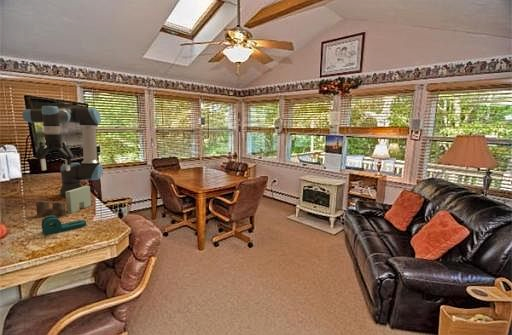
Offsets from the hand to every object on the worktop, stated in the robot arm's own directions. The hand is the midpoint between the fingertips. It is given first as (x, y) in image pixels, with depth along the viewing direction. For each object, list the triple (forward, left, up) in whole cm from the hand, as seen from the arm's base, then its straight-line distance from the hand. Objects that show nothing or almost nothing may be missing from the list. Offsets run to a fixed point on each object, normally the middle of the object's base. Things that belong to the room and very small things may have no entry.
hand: (56, 170), depth 153 cm
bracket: (+26, +16, -26) cm, 40 cm away
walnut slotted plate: (+4, -3, -26) cm, 26 cm away
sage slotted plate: (-7, +7, -26) cm, 28 cm away
